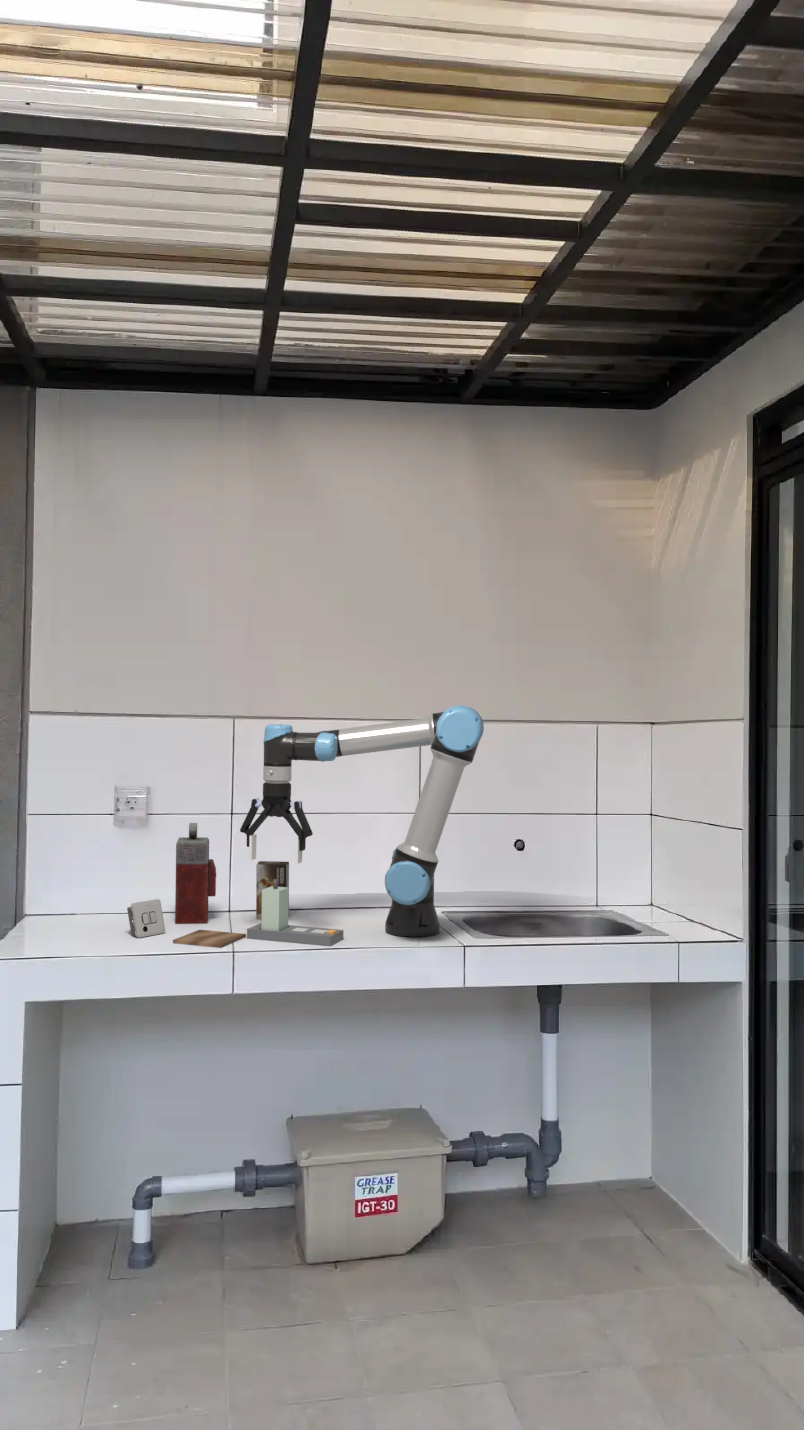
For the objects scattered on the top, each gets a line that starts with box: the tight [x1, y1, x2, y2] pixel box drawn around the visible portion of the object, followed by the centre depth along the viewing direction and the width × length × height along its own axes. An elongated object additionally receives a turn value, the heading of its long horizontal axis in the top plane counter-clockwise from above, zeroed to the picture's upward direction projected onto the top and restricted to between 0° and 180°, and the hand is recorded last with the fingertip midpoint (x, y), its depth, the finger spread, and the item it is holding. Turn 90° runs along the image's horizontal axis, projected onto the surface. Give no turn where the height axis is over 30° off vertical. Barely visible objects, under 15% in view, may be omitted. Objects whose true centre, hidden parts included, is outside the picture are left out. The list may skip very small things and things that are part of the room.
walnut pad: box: [172, 929, 247, 949], centre depth 288 cm, size 14×14×1 cm
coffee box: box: [255, 860, 290, 920], centre depth 319 cm, size 9×6×16 cm
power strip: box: [246, 922, 344, 947], centre depth 291 cm, size 24×9×3 cm, turn 71°
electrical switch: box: [126, 898, 166, 939], centre depth 293 cm, size 9×5×9 cm, turn 141°
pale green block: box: [260, 879, 290, 931], centre depth 293 cm, size 5×6×15 cm
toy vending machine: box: [174, 822, 217, 925], centre depth 312 cm, size 9×11×28 cm
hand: (275, 861), depth 292 cm, fingers open, 13 cm apart
